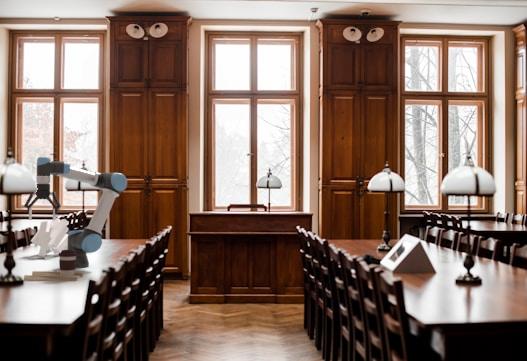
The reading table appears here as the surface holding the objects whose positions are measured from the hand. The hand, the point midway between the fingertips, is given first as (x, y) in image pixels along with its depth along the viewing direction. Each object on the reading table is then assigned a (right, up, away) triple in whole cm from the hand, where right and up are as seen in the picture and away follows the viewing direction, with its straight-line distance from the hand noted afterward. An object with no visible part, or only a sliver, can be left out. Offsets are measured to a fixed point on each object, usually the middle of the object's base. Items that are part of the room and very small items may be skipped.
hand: (42, 219), depth 334 cm
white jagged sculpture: (-24, -32, +81) cm, 90 cm away
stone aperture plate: (+20, -32, -14) cm, 40 cm away
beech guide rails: (+13, -32, -15) cm, 37 cm away
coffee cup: (+19, -31, -14) cm, 40 cm away
